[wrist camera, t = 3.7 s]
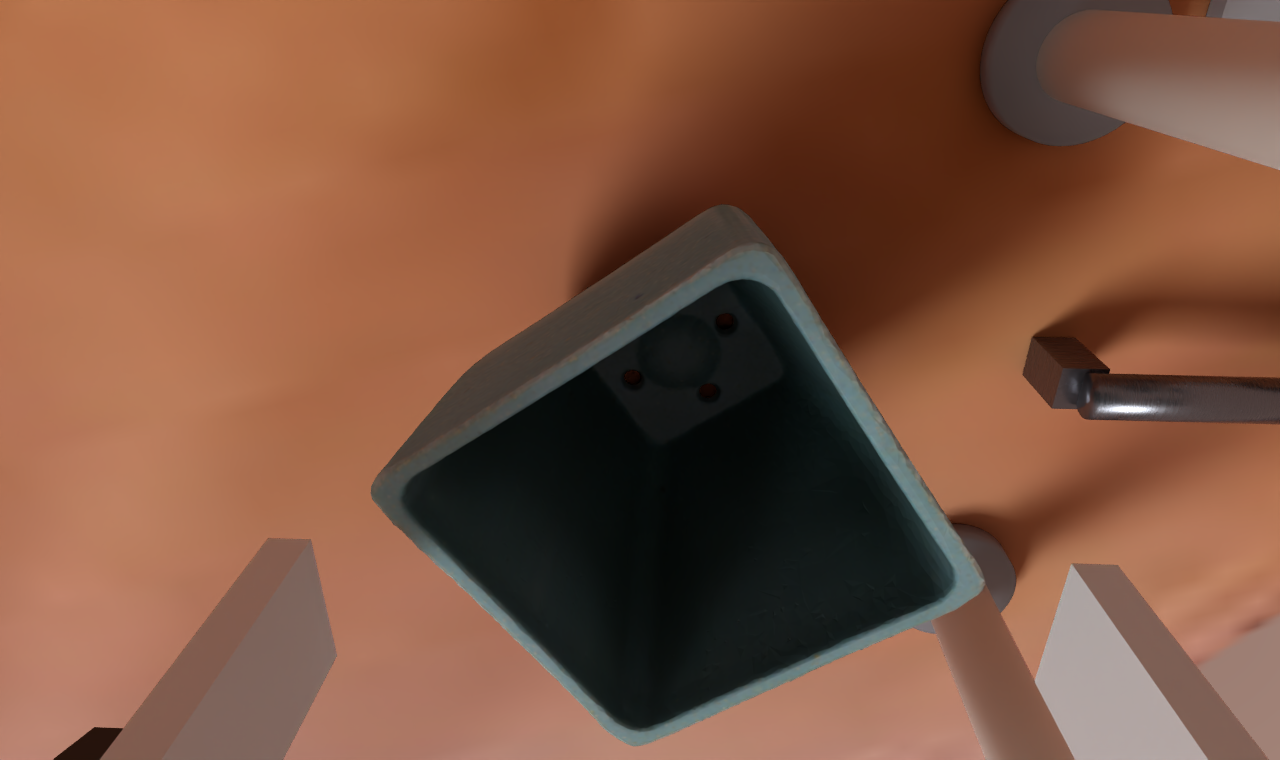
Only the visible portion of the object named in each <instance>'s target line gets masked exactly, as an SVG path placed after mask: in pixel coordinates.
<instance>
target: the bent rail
mask: <svg viewBox="0 0 1280 760" xmlns="http://www.w3.org/2000/svg"><path fill="white" fill-rule="evenodd" d="M1109 372H1110V369H1109V368H1108V367H1107V366H1106V365H1105V364H1104V363H1103V362H1102V361H1100V360H1099V359H1098V358H1097V357H1096V356H1095V355H1094V354H1093V353H1092V352H1090V351H1089V350H1088V349H1087V348H1086V347H1085V346H1084V345H1083V344H1082V343H1080V342H1079V341H1078V340H1077V339H1076V338H1054V337H1032V340H1031V343H1030V347H1029V351H1028V355H1027V359H1026V363H1025V367H1024V371H1023V376H1024V377H1025V378H1026V379H1027V381H1028V382H1029V383H1030V384H1031V385H1032V386H1033V387H1034V389H1035V390H1036V391H1037V392H1038V393H1039V394H1040V395H1041V397H1042V398H1043V399H1044V400H1045V401H1046V402H1047V403H1048V405H1049V406H1050V407H1051V408H1054V409H1078V412H1079V413H1080V415H1081V416H1082V417H1083V418H1084V419H1088V420H1127V421H1166V422H1206V423H1245V424H1280V378H1273V377H1230V376H1187V375H1143V374H1109Z"/></svg>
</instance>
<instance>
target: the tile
mask: <svg viewBox="0 0 1280 760" xmlns="http://www.w3.org/2000/svg"><path fill="white" fill-rule="evenodd" d="M1206 17H1214V18H1229V19H1244V20H1259V21H1274V22H1280V0H1211V1H1210V5H1209V8H1208V11H1207V15H1206Z"/></svg>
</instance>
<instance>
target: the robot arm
mask: <svg viewBox="0 0 1280 760" xmlns="http://www.w3.org/2000/svg"><path fill="white" fill-rule="evenodd" d="M336 657H337V654H336V649H335V645H334V640H333V636H332V631H331V627H330V622H329V618H328V613H327V609H326V605H325V600H324V596H323V591H322V587H321V582H320V578H319V573H318V569H317V565H316V560H315V556H314V551H313V547H312V542H311V539H281V538H268V539H267V540H266V542H265V543H264V544H263V546H262V547H261V548H260V549H259V551H258V552H257V553H256V555H255V556H254V557H253V559H252V560H251V561H250V563H249V564H248V565H247V567H246V568H245V569H244V571H243V572H242V573H241V574H240V576H239V577H238V578H237V580H236V581H235V582H234V584H233V585H232V586H231V588H230V589H229V590H228V592H227V593H226V594H225V596H224V597H223V598H222V599H221V601H220V602H219V603H218V605H217V606H216V607H215V609H214V610H213V611H212V613H211V614H210V615H209V617H208V618H207V619H206V621H205V622H204V623H203V624H202V626H201V627H200V628H199V630H198V631H197V632H196V634H195V635H194V636H193V638H192V639H191V640H190V642H189V643H188V644H187V646H186V647H185V648H184V649H183V651H182V652H181V653H180V655H179V656H178V657H177V659H176V660H175V661H174V663H173V664H172V665H171V667H170V668H169V669H168V671H167V672H166V673H165V674H164V676H163V677H162V678H161V680H160V681H159V682H158V684H157V685H156V686H155V688H154V689H153V690H152V692H151V693H150V694H149V696H148V697H147V698H146V699H145V701H144V702H143V703H142V705H141V706H140V707H139V709H138V710H137V711H136V713H135V714H134V715H133V717H132V718H131V719H130V721H129V722H128V723H127V724H126V726H125V727H124V728H100V727H94V728H93V729H92V730H90V731H89V732H88V733H86V734H85V735H84V736H83V737H81V738H80V739H79V740H77V741H76V742H75V743H74V744H72V745H71V746H70V747H68V748H67V749H66V750H65V751H63V752H62V753H61V754H59V755H58V756H57V757H56V758H54V759H53V760H283V759H284V757H285V755H286V753H287V751H288V749H289V747H290V745H291V743H292V741H293V739H294V738H295V736H296V734H297V732H298V730H299V728H300V726H301V724H302V722H303V720H304V718H305V716H306V714H307V713H308V711H309V709H310V707H311V705H312V703H313V701H314V699H315V697H316V695H317V693H318V691H319V689H320V687H321V686H322V684H323V682H324V680H325V678H326V676H327V674H328V672H329V670H330V668H331V666H332V664H333V662H334V661H335V659H336ZM1035 684H1036V686H1037V688H1038V689H1039V691H1040V693H1041V695H1042V697H1043V699H1044V701H1045V703H1046V705H1047V707H1048V709H1049V711H1050V712H1051V714H1052V716H1053V718H1054V720H1055V722H1056V724H1057V726H1058V728H1059V730H1060V732H1061V733H1062V735H1063V737H1064V739H1065V741H1066V743H1067V745H1068V747H1069V749H1070V751H1071V753H1072V755H1073V756H1074V758H1075V760H1269V759H1268V758H1267V757H1266V755H1265V754H1264V753H1263V751H1262V750H1261V749H1260V748H1259V746H1258V745H1257V744H1256V742H1255V741H1254V740H1253V739H1252V737H1251V736H1250V735H1249V733H1248V732H1247V731H1246V730H1245V728H1244V727H1243V726H1242V724H1241V723H1240V722H1239V721H1238V719H1237V718H1236V717H1235V716H1234V714H1233V713H1232V712H1231V710H1230V709H1229V708H1228V706H1227V705H1226V704H1225V703H1224V701H1223V700H1222V699H1221V698H1220V696H1219V695H1218V694H1217V692H1216V691H1215V690H1214V688H1213V687H1212V686H1211V684H1210V683H1209V682H1208V681H1207V679H1206V678H1205V677H1204V675H1203V674H1202V673H1201V672H1200V670H1199V669H1198V668H1197V666H1196V665H1195V664H1194V663H1193V661H1192V660H1191V659H1190V657H1189V656H1188V655H1187V654H1186V652H1185V651H1184V650H1183V648H1182V647H1181V646H1180V645H1179V643H1178V642H1177V641H1176V639H1175V638H1174V637H1173V636H1172V634H1171V633H1170V632H1169V630H1168V629H1167V628H1166V627H1165V625H1164V624H1163V623H1162V621H1161V620H1160V619H1159V618H1158V616H1157V615H1156V614H1155V612H1154V611H1153V610H1152V609H1151V607H1150V606H1149V605H1148V603H1147V602H1146V601H1145V600H1144V598H1143V597H1142V596H1141V594H1140V593H1139V592H1138V591H1137V589H1136V588H1135V587H1134V585H1133V584H1132V583H1131V582H1130V580H1129V579H1128V578H1127V576H1126V575H1125V574H1124V573H1123V571H1122V570H1121V569H1120V567H1119V566H1118V565H1101V564H1071V567H1070V570H1069V573H1068V576H1067V580H1066V583H1065V586H1064V589H1063V592H1062V595H1061V599H1060V602H1059V605H1058V608H1057V611H1056V615H1055V618H1054V621H1053V624H1052V627H1051V631H1050V634H1049V637H1048V640H1047V643H1046V647H1045V650H1044V653H1043V656H1042V659H1041V662H1040V666H1039V669H1038V672H1037V675H1036V678H1035Z"/></svg>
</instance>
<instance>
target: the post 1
mask: <svg viewBox="0 0 1280 760" xmlns="http://www.w3.org/2000/svg"><path fill="white" fill-rule="evenodd" d="M952 525H953V527H954V528H955V530H956V531H957V533H958V534H959V536H960V537H961V538H962V540H963V542H964V543H965V545H966V546H967V548H968V549H969V551H970V552H971V553H972V555H973V556H974V557H975V559H976V561H977V563H978V564H979V566H980V568H981V570H982V573H983V575H984V578H985V586H984V589H983V590H982V591H981V592H980V593H979V594H978V595H977V596H975V597H974V598H972V599H971V600H969V601H968V602H967V603H965V604H964V605H962V606H961V607H959V608H958V609H956V610H954V611H952V612H949V613H947V614H945V615H942V616H940V617H938V618H936V619H933V620H930V621H928V622H926V623H923V624H920V625H918V626H916V627H913V628H915V629H917V630H920V631H924V632H928V633H933V634H936V635H937V638H938V640H939V643H940V645H941V648H942V651H943V653H944V656H945V658H946V661H947V663H948V666H949V668H950V671H951V673H952V676H953V678H954V681H955V684H956V686H957V689H958V691H959V694H960V696H961V699H962V701H963V704H964V706H965V709H966V711H967V714H968V716H969V719H970V722H971V724H972V727H973V729H974V732H975V734H976V737H977V739H978V742H979V744H980V747H981V749H982V752H983V755H984V757H985V760H1075V759H1074V757H1073V755H1072V753H1071V751H1070V749H1069V747H1068V745H1067V743H1066V741H1065V739H1064V737H1063V735H1062V733H1061V732H1060V730H1059V728H1058V726H1057V724H1056V722H1055V720H1054V718H1053V716H1052V714H1051V712H1050V711H1049V709H1048V707H1047V705H1046V703H1045V701H1044V699H1043V697H1042V695H1041V693H1040V691H1039V689H1038V688H1037V686H1036V684H1035V680H1034V678H1033V676H1032V674H1031V672H1030V670H1029V668H1028V666H1027V665H1026V663H1025V661H1024V659H1023V657H1022V655H1021V653H1020V651H1019V649H1018V647H1017V645H1016V643H1015V641H1014V639H1013V637H1012V635H1011V633H1010V631H1009V629H1008V627H1007V625H1006V623H1005V621H1004V619H1003V617H1002V615H1001V612H1002V611H1003V610H1004V609H1005V607H1006V606H1007V605H1008V603H1009V602H1010V600H1011V598H1012V596H1013V594H1014V591H1015V586H1016V575H1015V570H1014V568H1013V565H1012V564H1011V562H1010V560H1009V558H1008V557H1007V555H1006V553H1005V551H1004V550H1003V548H1002V546H1001V544H1000V543H999V542H998V541H997V540H996V539H995V538H994V537H993V536H992V535H990V534H989V533H987V532H986V531H984V530H982V529H979V528H977V527H973V526H969V525H964V524H952Z"/></svg>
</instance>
